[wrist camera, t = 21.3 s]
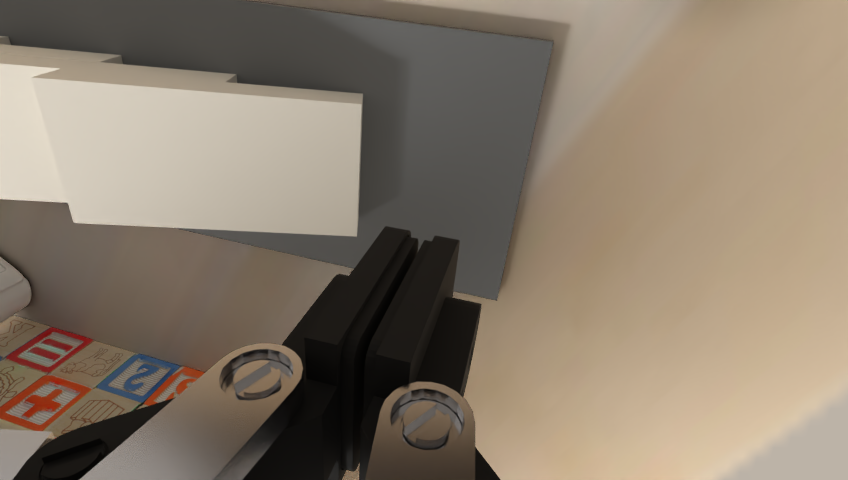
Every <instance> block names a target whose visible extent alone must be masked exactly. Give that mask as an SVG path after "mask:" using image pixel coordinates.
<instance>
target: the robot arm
mask: <svg viewBox="0 0 848 480" xmlns="http://www.w3.org/2000/svg"><path fill="white" fill-rule="evenodd" d="M459 245H460V240H457V239H452V238H447V237H441V236H436V235H435V236H434V238H433V240H432V241H428V240H424V241H423V243H422V245H421V247H420V249H419V251H418V238H412V237H411V232H410V230H404V229H399V228H394V227H388V226H385V227H384V229H383V230H382V231H381V233H380V234H379V235H378V237H377V238H376V239H375V241H374V242H373V244H372V245H371V246H370V248H369V249H368V250H367V252H366V253H365V255H364V256H363V257H362V259H361V260H360V261H359V263H358V264H357V266H356V267H355V268H354V270H353V271H352V272H351V274H350V275H349V276H347V275H342V274H339V275H336V276H335V277H334V278H333V279H332V281H331V282H330V283H329V285H328V286H327V287H326V288H325V290H324V291H323V292H322V294H321V295H320V296H319V297H318V299H317V300H316V301H315V303H314V304H313V305H312V306H311V308H310V309H309V310H308V312H307V313H306V314H305V315H304V317H303V318H302V319H301V321H300V322H299V323H298V324H297V326H296V327H295V328H294V330H293V331H292V332H291V333H290V335H289V336H288V337H287V339H286V340H285V341H284V342H283V344H282V345H278V344H274V343H258V344H252V345H247V346H244V347H242V348H239V349H237V350H234V351H232V352H231V353H229V354H228V355H226V356H225V357H223V358H222V359H220V360H219V361H218V362H217V363H216V364H215V365H213V366H212V367H211V368H210V369H209V370H208V371H206V372H205V373H204V374H203V375H202V376H200V377H199V378H198V379H197V380H196V381H195V382H193V383H192V384H191V385H190V386H189V387H188V388H186V389H185V390H184V391H183V392H182V393H181V394H179V395H178V396H177V397H175V398H172V399H169V400H165V401H162V402H159V403H156V404H153V405H150V406H147V407H143V408H140V409H137V410H134V411H131V412H128V413H124V414H121V415H118V416H115V417H112V418H109V419H105V420H102V421H99V422H96V423H93V424H90V425H86V426H83V427H80V428H77V429H75V430H72V431H70V432H67V433H65V434H63V435H60V436H58V437H57V438H54V435H53V433H52V432H46V431H28V430H9V429H0V480H342V478H343V476H344V474H345V471H346V470H349V471H353V472H354V471H355V470H356V469H357V467H358V464H359V462H360V469H359V480H500V479H499V477H498V476H497V475H496V473H495V472H494V471H493V469H492V468H491V467H490V466H489V464H488V463H487V462H486V460H485V459H484V458H483V456H482V455H481V454H480V453H479V451H478V450H477V449H476V447H475V421H474V416H473V411H472V409H471V408H470V406H469V404H468V403H467V401H466V400H465V399H464V398H463V396H464V392H465V387H466V383H467V379H468V374H469V370H470V365H471V360H472V355H473V350H474V345H475V340H476V335H477V329H478V323H479V318H480V312H481V304H479V303H474V302H470V301H465V300H460V299H455V298H452V297H453V290H454V283H455V275H456V268H457V261H458V253H459Z"/></svg>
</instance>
